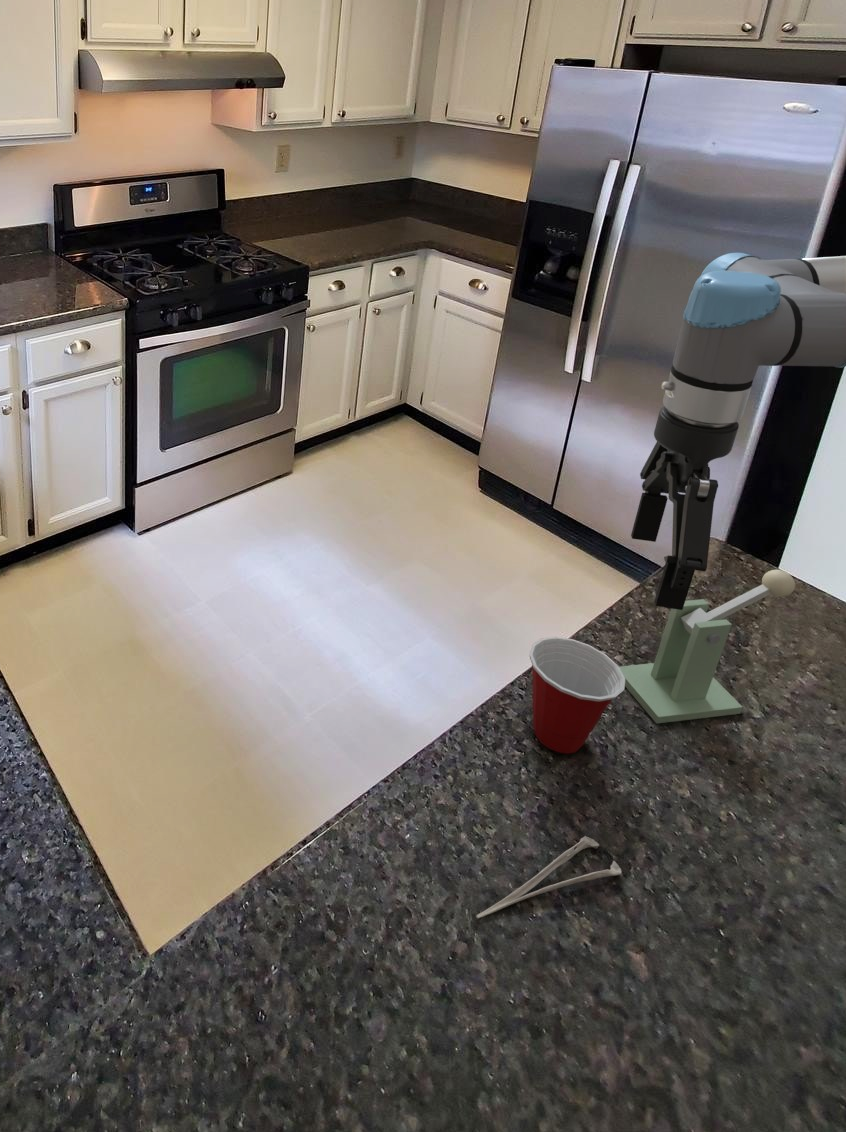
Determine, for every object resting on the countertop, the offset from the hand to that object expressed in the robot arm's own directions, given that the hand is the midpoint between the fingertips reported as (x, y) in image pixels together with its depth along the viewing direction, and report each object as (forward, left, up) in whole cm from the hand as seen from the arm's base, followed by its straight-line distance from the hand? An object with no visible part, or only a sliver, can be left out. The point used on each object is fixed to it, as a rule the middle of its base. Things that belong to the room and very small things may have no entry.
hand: (654, 570), depth 96 cm
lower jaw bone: (+12, +29, -23) cm, 39 cm away
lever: (-14, -7, -9) cm, 18 cm away
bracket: (-8, -5, -23) cm, 25 cm away
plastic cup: (+8, +7, -23) cm, 25 cm away
